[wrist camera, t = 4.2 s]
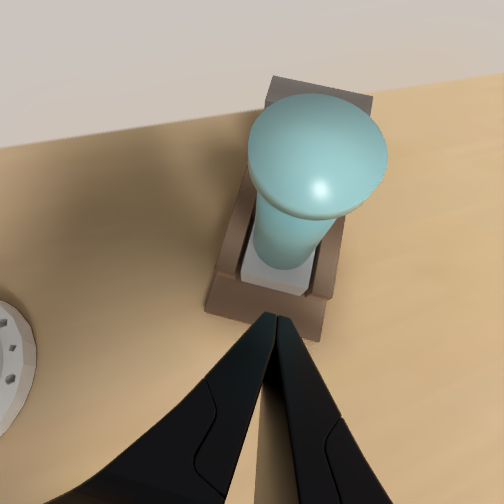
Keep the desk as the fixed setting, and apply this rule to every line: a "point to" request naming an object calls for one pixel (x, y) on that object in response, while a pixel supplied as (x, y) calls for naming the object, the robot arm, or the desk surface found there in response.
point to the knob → (306, 182)
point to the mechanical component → (14, 363)
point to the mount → (238, 234)
